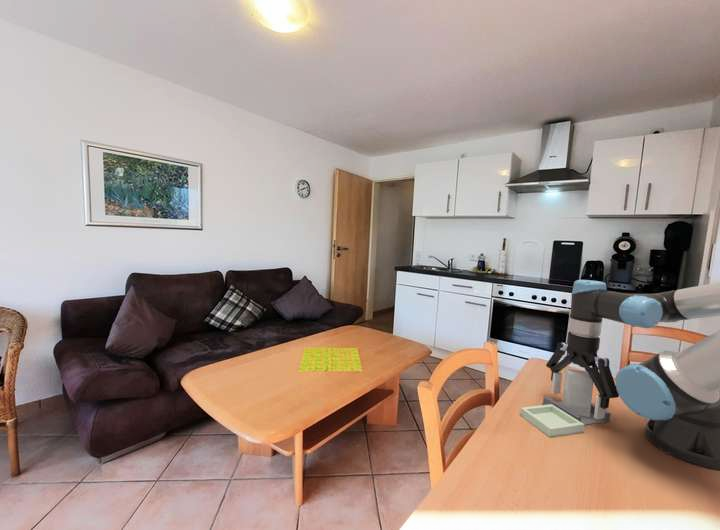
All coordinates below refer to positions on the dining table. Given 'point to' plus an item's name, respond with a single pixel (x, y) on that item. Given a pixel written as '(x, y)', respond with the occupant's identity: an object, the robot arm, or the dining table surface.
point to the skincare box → (577, 392)
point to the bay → (580, 418)
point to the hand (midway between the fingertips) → (575, 404)
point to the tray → (552, 420)
